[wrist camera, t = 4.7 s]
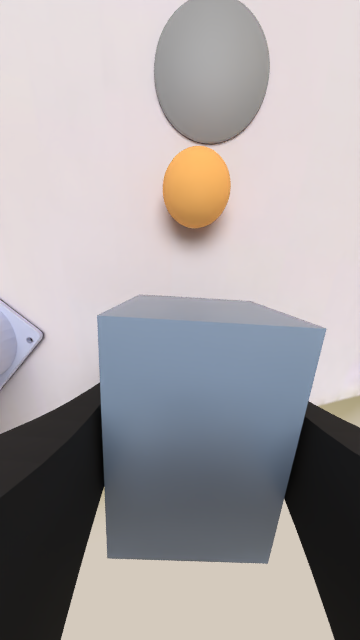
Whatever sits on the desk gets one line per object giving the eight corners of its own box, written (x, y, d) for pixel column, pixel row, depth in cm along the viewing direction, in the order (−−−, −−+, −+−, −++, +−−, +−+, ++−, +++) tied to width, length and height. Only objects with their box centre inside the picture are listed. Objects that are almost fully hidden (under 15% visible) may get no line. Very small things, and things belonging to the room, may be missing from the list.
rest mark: (210, 169, 13) (211, 167, 13) (131, 77, 12) (130, 74, 11) (291, 74, 12) (293, 70, 11) (212, -38, 10) (213, -44, 10)
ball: (193, 246, 14) (200, 235, 10) (153, 204, 13) (143, 175, 9) (233, 202, 13) (256, 172, 9) (192, 156, 13) (199, 103, 9)
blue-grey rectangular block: (229, 440, 12) (268, 563, 7) (138, 436, 12) (107, 558, 7) (250, 301, 10) (326, 328, 5) (139, 294, 10) (97, 315, 5)
